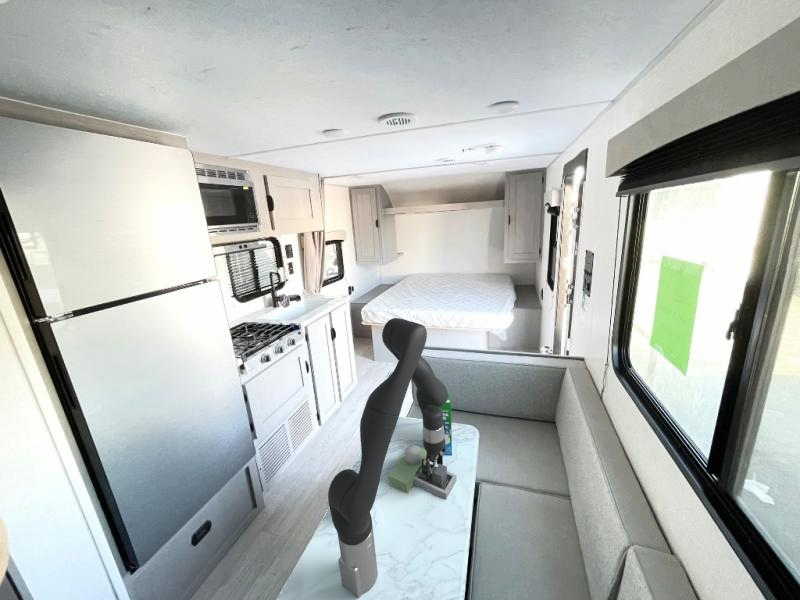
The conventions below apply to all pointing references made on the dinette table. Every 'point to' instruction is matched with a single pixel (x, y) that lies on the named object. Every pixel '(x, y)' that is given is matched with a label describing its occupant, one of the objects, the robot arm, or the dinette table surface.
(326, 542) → the dinette table surface
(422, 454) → the multicoloured piece
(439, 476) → the grey stepped block
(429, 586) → the dinette table surface
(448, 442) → the milk carton
